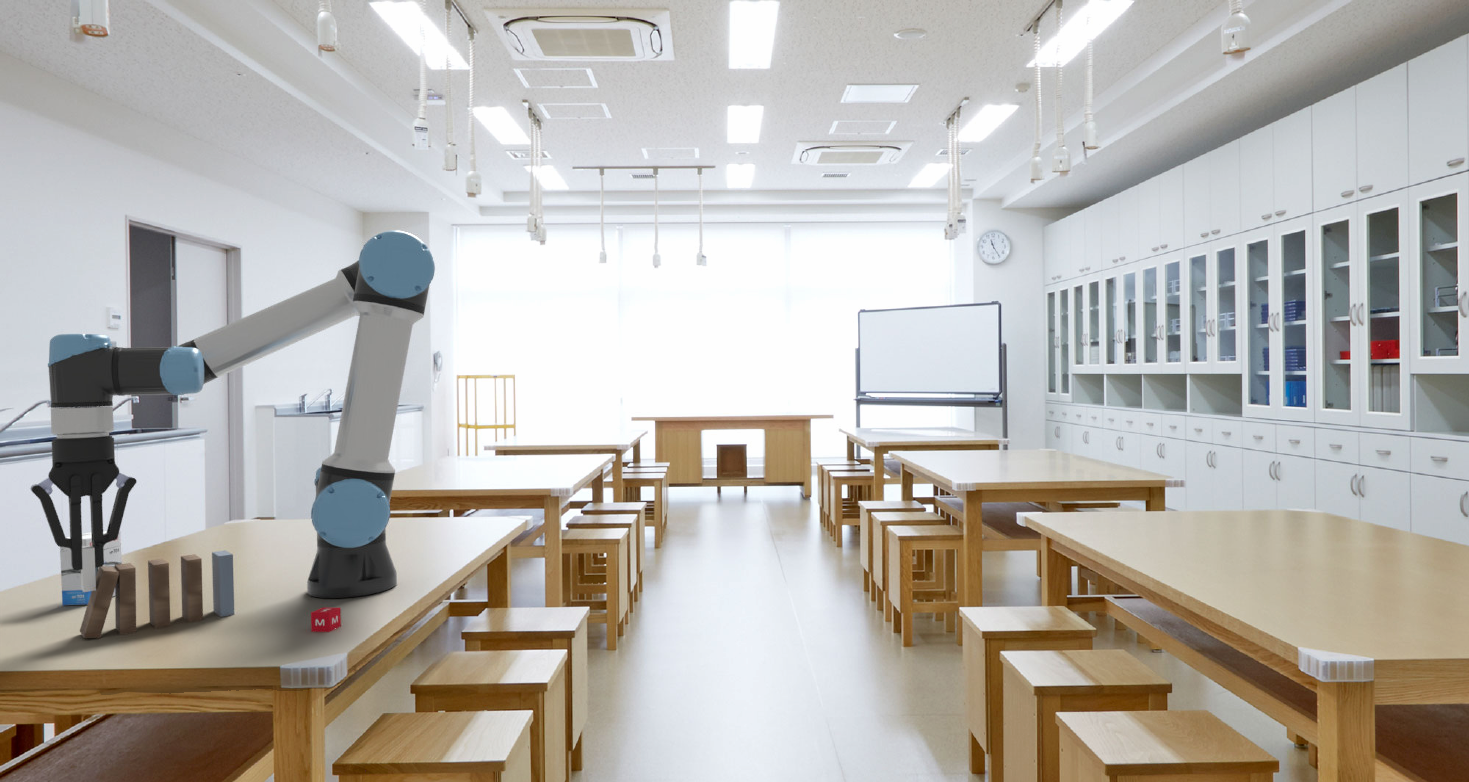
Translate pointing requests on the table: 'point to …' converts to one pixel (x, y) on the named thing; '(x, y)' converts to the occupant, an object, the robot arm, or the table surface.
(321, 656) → the table surface
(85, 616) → the end domino
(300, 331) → the robot arm
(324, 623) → the red letter cube
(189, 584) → the domino
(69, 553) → the ink box
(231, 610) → the domino
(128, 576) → the domino
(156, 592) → the domino
